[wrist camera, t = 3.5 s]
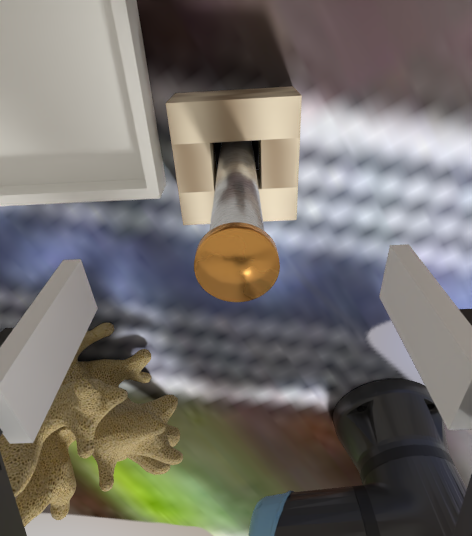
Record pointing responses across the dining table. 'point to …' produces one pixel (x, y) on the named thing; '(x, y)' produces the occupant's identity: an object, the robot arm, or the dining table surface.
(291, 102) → the pin block
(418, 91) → the dining table surface
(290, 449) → the dining table surface
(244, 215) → the steel pin
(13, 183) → the tray
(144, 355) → the decorative coral
